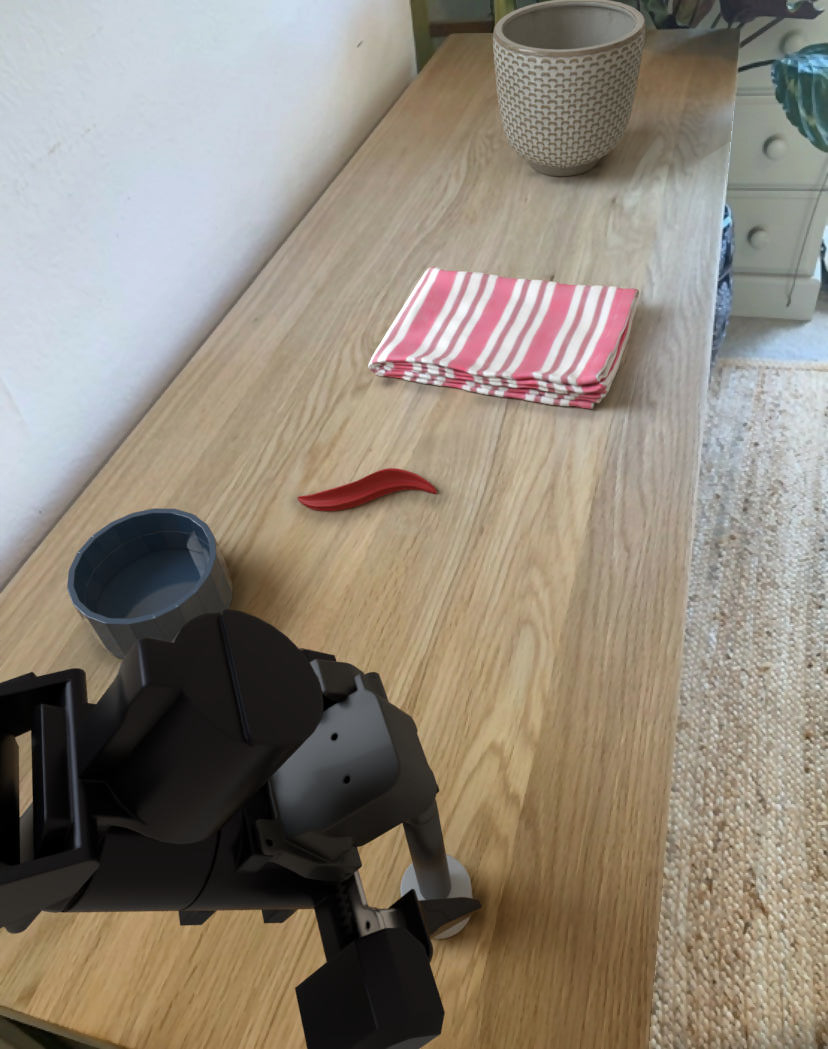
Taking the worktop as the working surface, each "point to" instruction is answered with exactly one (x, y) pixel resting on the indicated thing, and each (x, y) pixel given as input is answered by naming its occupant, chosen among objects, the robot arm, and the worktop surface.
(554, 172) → the planter
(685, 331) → the worktop surface
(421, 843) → the joystick
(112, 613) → the bowl
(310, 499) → the cayenne pepper
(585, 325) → the dish towel
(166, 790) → the robot arm
